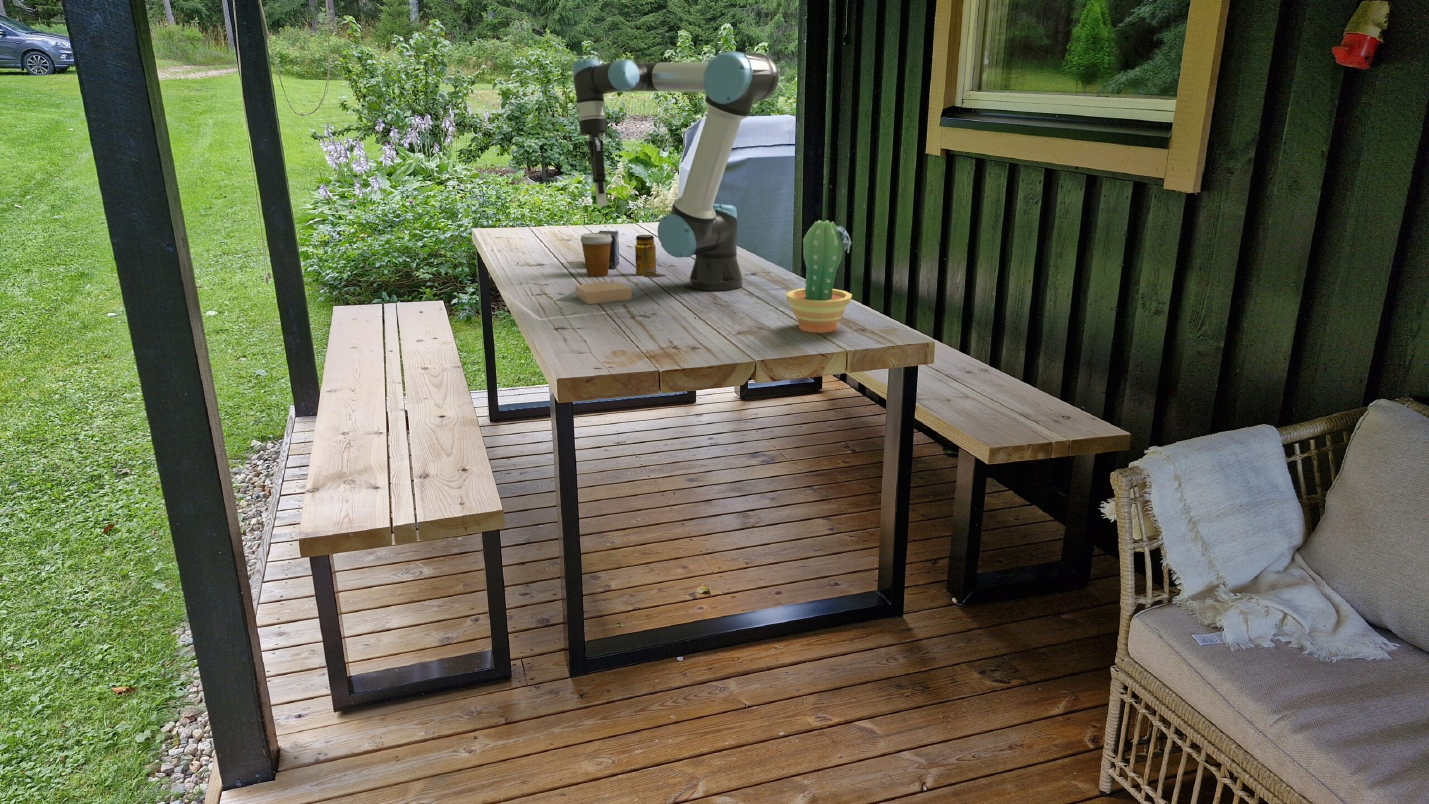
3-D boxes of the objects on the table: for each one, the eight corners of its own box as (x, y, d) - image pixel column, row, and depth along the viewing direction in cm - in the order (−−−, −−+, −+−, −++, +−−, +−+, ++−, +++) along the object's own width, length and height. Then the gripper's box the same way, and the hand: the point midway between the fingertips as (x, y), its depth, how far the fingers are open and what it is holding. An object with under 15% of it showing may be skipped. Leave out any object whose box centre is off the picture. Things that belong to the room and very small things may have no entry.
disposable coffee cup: (611, 278, 274) (610, 237, 270) (579, 278, 274) (577, 237, 270) (615, 271, 283) (613, 232, 279) (584, 271, 283) (582, 232, 279)
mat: (646, 294, 252) (646, 292, 252) (620, 308, 237) (620, 305, 237) (583, 290, 258) (583, 287, 258) (554, 302, 243) (554, 300, 242)
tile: (575, 285, 245) (587, 292, 237) (617, 281, 250) (631, 288, 242) (575, 297, 246) (588, 304, 238) (617, 292, 252) (631, 300, 243)
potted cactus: (836, 339, 208) (840, 227, 200) (774, 331, 215) (776, 222, 207) (860, 324, 220) (866, 219, 212) (801, 317, 228) (804, 214, 219)
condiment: (630, 275, 278) (629, 235, 274) (653, 272, 283) (653, 232, 279) (643, 279, 272) (642, 238, 268) (667, 275, 277) (666, 235, 273)
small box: (616, 269, 287) (615, 235, 283) (595, 269, 287) (594, 235, 283) (620, 263, 297) (619, 230, 293) (600, 263, 297) (598, 230, 293)
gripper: (576, 123, 260) (586, 208, 265) (581, 117, 248) (591, 206, 252) (602, 121, 262) (612, 205, 267) (608, 115, 249) (618, 204, 254)
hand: (602, 206), depth 259 cm, fingers closed
